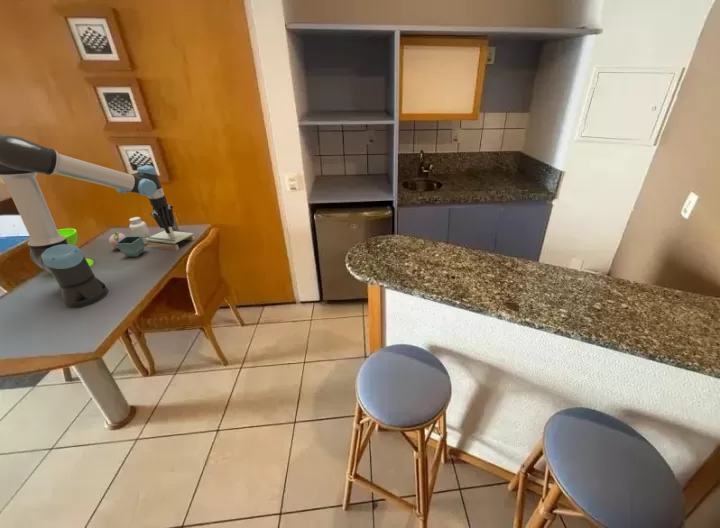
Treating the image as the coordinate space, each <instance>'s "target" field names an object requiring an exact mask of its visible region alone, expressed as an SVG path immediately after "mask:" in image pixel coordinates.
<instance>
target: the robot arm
mask: <svg viewBox="0 0 720 528" xmlns="http://www.w3.org/2000/svg"><path fill="white" fill-rule="evenodd" d="M136 170H137V171H136V172H134V173H126V172H123V171H121V170H115V169H114V168H113V169H112V168H110V167H109V168H108V167H106V166H102V165H99V164H96V163H92V162H89V161H88V162H87V161H85V160H81V159H78V158H74V157H71V156H68V155H64V154H61V153H59V152H58V151H57V150H56V149H53V148H50V147H47V146H44V145H41V144H39V143H35V142H33V141H31V140H29V139H26V138H23V137H20V136H17V135H10V134H8V133H7V134H6V133H0V178H1V179H3V181H4V183H5V185H6V187H7V190H8V192H9V194H10V197H11V198H12V200H13V203H14V205H15V207H16V210H17V211H18V214H19V216H20V218H21V220H22V221H21V222H23V224H24V227H25V229H26V231H27V233H28V236H29V238H30V239H29V240H28V242H27V246H28V248H29V250H30V251H29V255H30V259H31V260H32V262H33V263H34V264H35V265H36V266H37V267H39V268H41V269H44V270H45V271H47V273H50V274H51V275H52V277H53V279H54V280H55V281H56V283H57V285H58V286H59V288H60V292H61V300H62V302H63V304H64V306H65V307H66V308H70V309H76V308H83V307H86V306H89V305H92V304H95V303H97V302H98V301H100V300H102V299H104V297H106V296H107V295H108V293H109V289H108V286H107V285H106V284H105V283H104V282H103V281H101V280H100V279H99V278H98V277H96V275H95V274H94V271H93V269H92V268H91V266H89V264H88V262H87V261H86V259H87V258H86V257H85V255H84V252H83V251H82V250H81V249H80V248H79V247H78V245H76V244H75V245H72V244H68V242H67V240H66V237H65V236H63V235H60V234H59V233H58V230H59V229H58V228H57V226H56V223H55V220H54V217H53V216H52V213H51V211H50V209H49V206H48V204H47V202H46V198H45V197H44V193H43V192H42V189H41V186H40V184H39V182H38V179H37V175H38V173H39V174H43V175H47V176H52V175H54V174H55V175H59V176H63V177H67V178H72V179H75V180H80V181H83V182H88V183H93V184H97V185H100V186H105V187H109V188H112V189H115V191H116V192H118V193H119V194H121V195H122V194H128V193H133V194H138V195H141V196H146V197H147V198H148V200H149V203H150V205H151V207H152V210H153V211H152V212H150V214H149V215H150V216H151V217H152V218H153V219H154V220H155V222H156V223H157V225H158V226H159V228H160V229H164V231H166V233H167V234H168V236H169V238H175V235H174V232H173V231H174V230H173V227H172V226H173V225H172V224H174V218H175V216H174V217H173V215H174V211H173V208H174V207H173V205H170V204H168V201H167V197H166V196H165V192H164V189H163V186H162V184H161V180H160V178H159V175H158V172H157V170H156V168H155V166H152V165H142V166H138V167H137V168H136ZM169 205H170V206H169Z"/></svg>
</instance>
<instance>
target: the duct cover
mask: <svg viewBox="0 0 720 528" xmlns="http://www.w3.org/2000/svg"><path fill="white" fill-rule="evenodd" d="M173 232H174V235H175V238H169V236H168V234H167V233H166V231H165V230H163V231H160V232H158V233H156V234H152V235H151V237H147V238H146V239H145V240H147V241H153V242H161V243H170V244H177V243H179V242H181V241H184V240H183V239H185V238H187V237H189V236H191V235H194V232H184V231H179V232H177V231H173Z"/></svg>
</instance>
